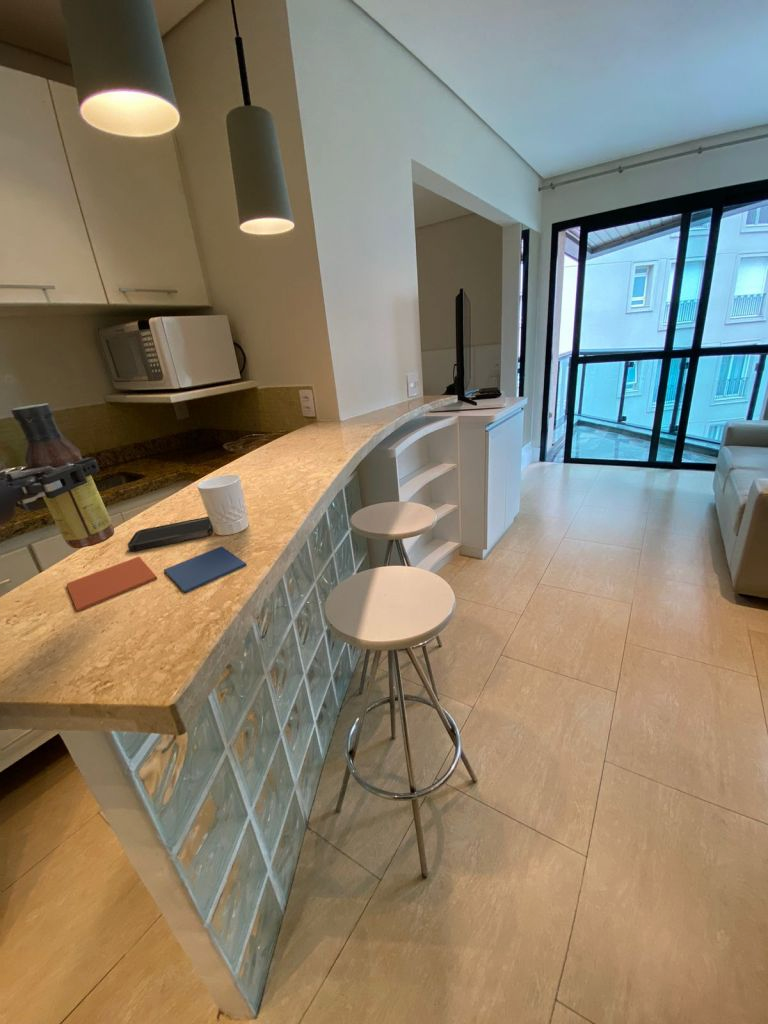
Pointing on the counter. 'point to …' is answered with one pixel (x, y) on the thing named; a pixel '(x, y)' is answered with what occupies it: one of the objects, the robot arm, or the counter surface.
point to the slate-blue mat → (204, 568)
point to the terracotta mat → (109, 583)
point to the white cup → (224, 503)
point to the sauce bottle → (74, 509)
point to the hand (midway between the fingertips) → (75, 465)
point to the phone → (170, 533)
